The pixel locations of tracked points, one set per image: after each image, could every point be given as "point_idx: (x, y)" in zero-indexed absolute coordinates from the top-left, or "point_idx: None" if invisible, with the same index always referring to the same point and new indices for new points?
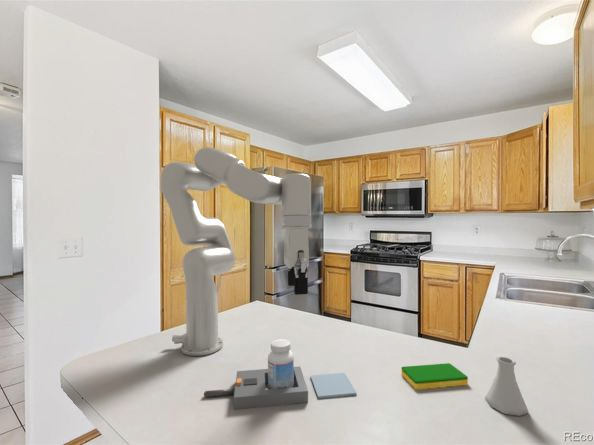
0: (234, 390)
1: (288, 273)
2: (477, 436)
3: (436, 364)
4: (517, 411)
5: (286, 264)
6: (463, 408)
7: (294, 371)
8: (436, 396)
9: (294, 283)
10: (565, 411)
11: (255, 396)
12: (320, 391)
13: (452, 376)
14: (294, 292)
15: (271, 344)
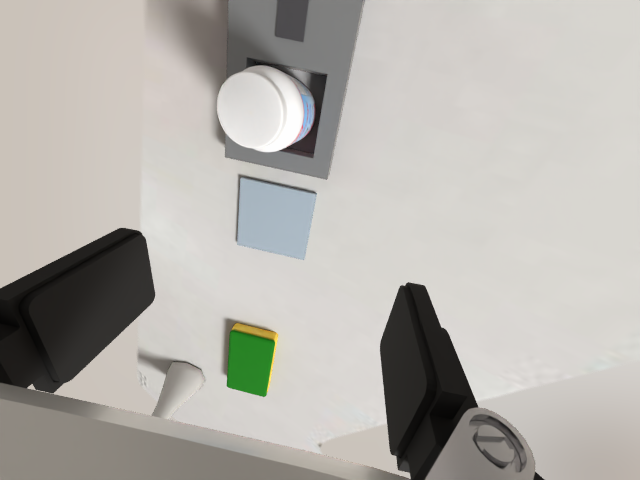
0: None
1: (432, 367)
2: (142, 314)
3: (265, 383)
4: (167, 372)
5: (44, 452)
6: (188, 338)
7: (309, 157)
8: (215, 332)
9: (49, 264)
10: None
11: (229, 22)
12: (254, 188)
13: (231, 375)
14: (119, 230)
15: (242, 72)
